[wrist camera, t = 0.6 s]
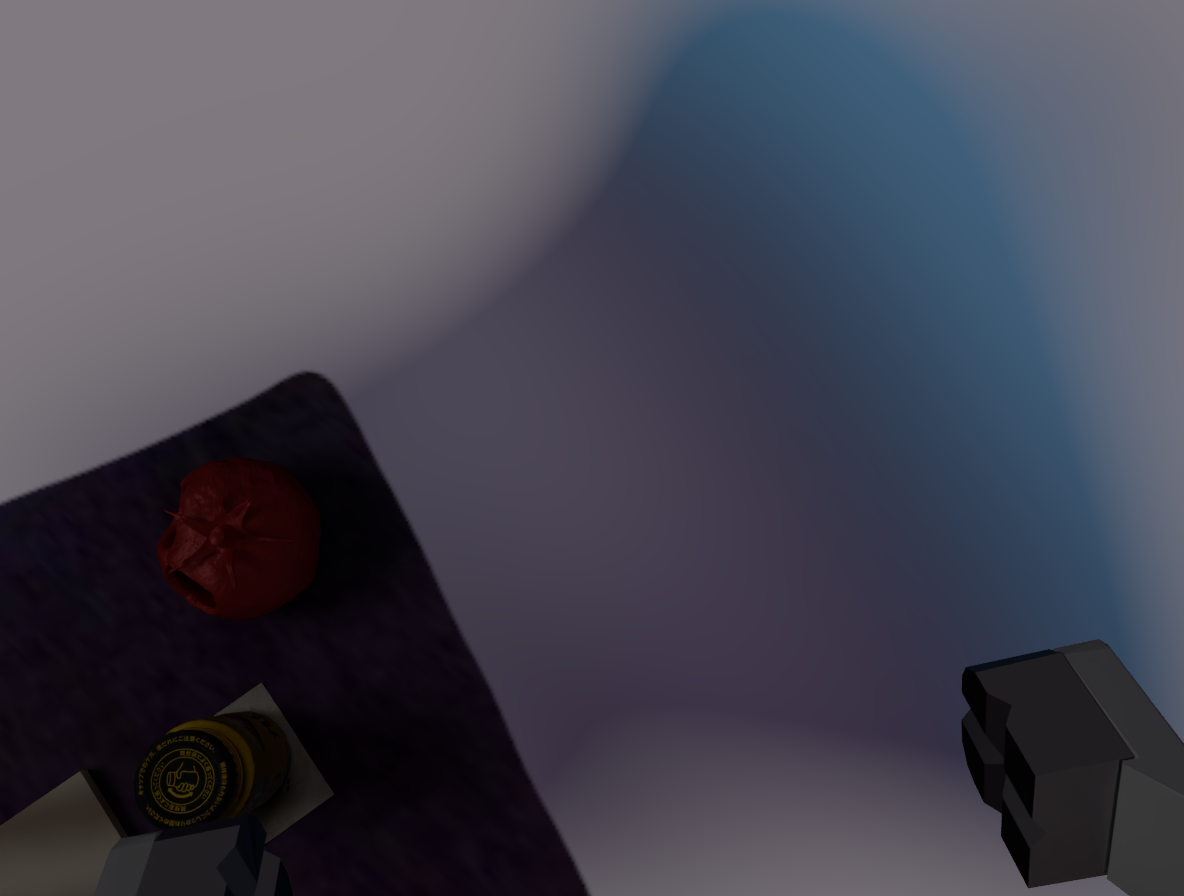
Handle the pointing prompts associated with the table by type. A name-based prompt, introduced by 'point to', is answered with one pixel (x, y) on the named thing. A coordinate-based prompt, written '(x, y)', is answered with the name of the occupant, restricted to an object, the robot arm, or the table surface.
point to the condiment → (230, 770)
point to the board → (59, 842)
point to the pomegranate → (241, 539)
